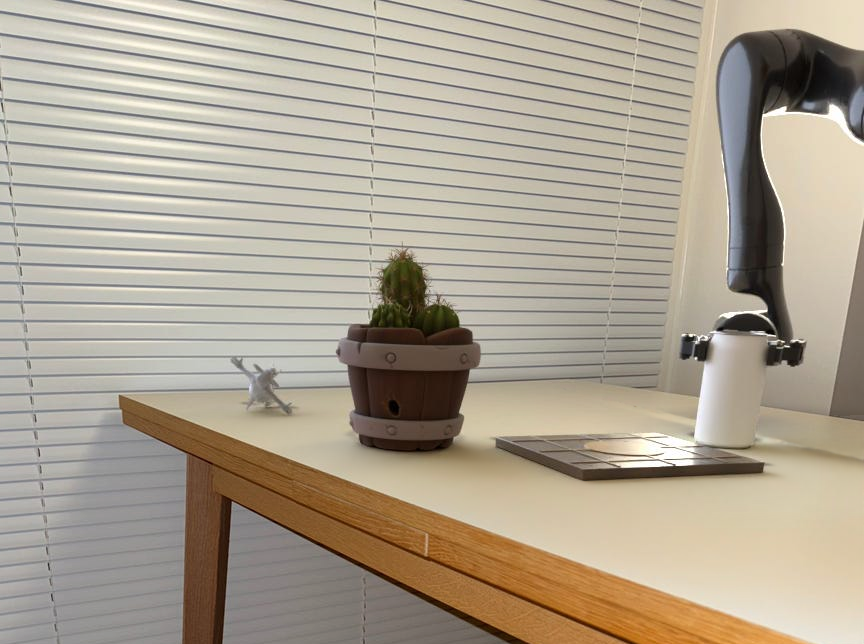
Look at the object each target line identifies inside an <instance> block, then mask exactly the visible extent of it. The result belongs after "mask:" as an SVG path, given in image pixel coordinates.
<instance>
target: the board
mask: <svg viewBox="0 0 864 644" xmlns="http://www.w3.org/2000/svg"><path fill="white" fill-rule="evenodd" d="M494 445H495V447H497V448H499V449H502V450H505V451H507V452H509V453H511V454H515V455H517V456H520V457H523V458H525V459H526V460H527V459H528V460H531V461H533V462H535V463H538V464H541V465H542V466H545V467H548V468H551V469H552V470H555V471H559V472H561V473H562V474H565V475H568V476H571V477H574V478H575V479H579V480H581V481H597V480H598V481H599V480H618V479H619V480H621V479H643V478H644V479H645V478H664V477H665V478H666V477H689V476H711V475H713V476H714V475H729V474H730V475H734V474H757V473H759V474H761V473H764V469H765V461H761V460H758V459H754V458H750V457H746V456H743V455H739V454H735V453H733V452H732V453H731V452H729V451H725V450H721V449H719V448H718V449H717V448H715V447H710V446H704V445H700V444H698V443H696V442H692V441H689V440H684V439H680V438H678V437H677V438H676V437H673V436H670V435H666V434H662V433H658V432H625V433H624V432H623V433H590V434H589V433H588V434H582V433H581V434H553V435H552V434H551V435H550V434H548V435H512V436H511V435H509V436H506V435H505V436H496V437H495V443H494Z"/></svg>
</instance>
